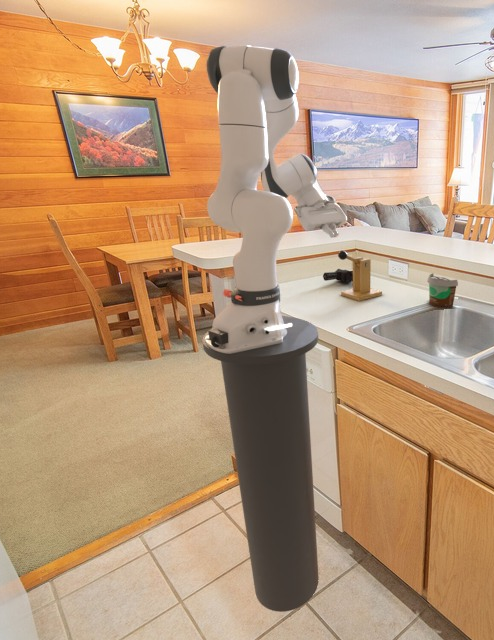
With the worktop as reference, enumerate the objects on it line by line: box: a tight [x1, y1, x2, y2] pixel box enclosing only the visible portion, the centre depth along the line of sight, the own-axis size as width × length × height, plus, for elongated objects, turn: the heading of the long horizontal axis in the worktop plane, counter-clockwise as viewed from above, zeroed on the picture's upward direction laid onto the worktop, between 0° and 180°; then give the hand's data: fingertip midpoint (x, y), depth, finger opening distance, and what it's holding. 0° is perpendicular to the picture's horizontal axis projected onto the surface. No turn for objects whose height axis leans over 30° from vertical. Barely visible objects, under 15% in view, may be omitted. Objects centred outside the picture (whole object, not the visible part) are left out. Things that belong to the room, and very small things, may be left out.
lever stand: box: [340, 256, 383, 302], centre depth 163 cm, size 12×10×14 cm
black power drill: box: [322, 268, 353, 284], centre depth 180 cm, size 5×20×15 cm
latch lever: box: [337, 250, 361, 266], centre depth 157 cm, size 13×3×3 cm, turn 137°
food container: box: [426, 272, 459, 309], centre depth 155 cm, size 12×6×10 cm, turn 42°
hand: (335, 236), depth 152 cm, fingers closed
